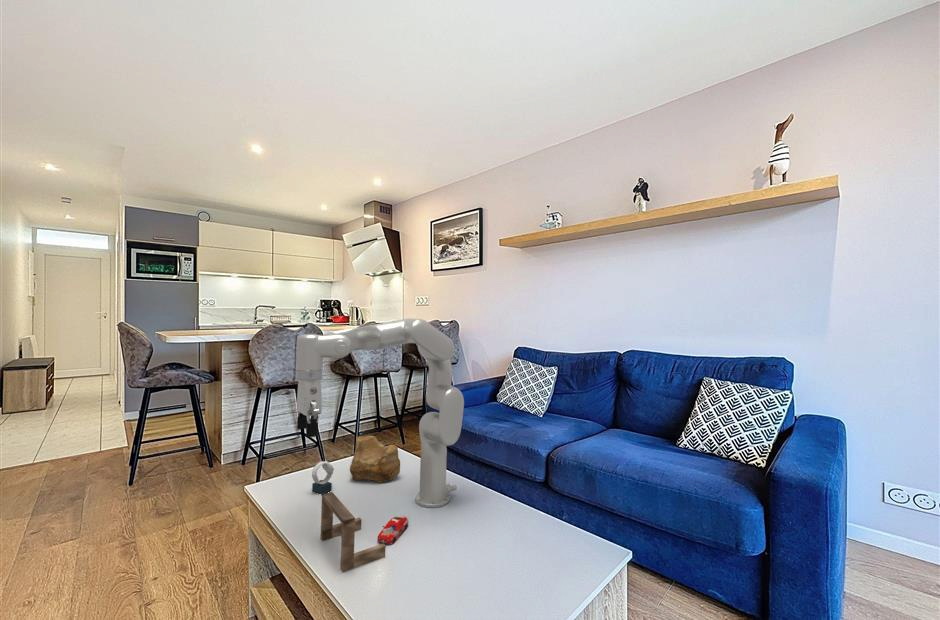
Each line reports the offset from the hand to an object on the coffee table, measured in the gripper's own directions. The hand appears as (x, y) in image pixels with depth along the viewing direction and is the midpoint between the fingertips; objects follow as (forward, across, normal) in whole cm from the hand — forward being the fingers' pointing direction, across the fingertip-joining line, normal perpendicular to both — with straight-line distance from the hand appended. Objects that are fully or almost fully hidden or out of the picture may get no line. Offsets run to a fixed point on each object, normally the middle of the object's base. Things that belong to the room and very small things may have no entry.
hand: (307, 432), depth 120 cm
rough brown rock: (+32, +32, -34) cm, 56 cm away
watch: (+31, +29, -14) cm, 45 cm away
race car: (+32, -13, -23) cm, 41 cm away
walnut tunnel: (+31, -13, -10) cm, 35 cm away
